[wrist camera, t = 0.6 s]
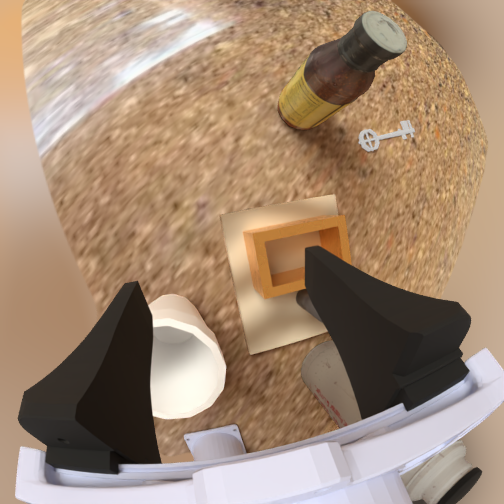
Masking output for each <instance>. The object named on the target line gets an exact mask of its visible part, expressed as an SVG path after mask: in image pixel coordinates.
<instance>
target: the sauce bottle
mask: <svg viewBox="0 0 504 504" xmlns="http://www.w3.org/2000/svg"><path fill="white" fill-rule="evenodd" d="M406 47H407V41H406V38H405V35H404V33H403V32H402V30H401V29H400V27H399V26H398V25H397V24H396V23H395V22H394V21H392V20H391V19H390V18H388V17H386V16H385V15H383V14H381V13H379V12H375V11H368V12H366V13H364V14H363V15H362V16H360V17H359V18H358V19H357V20H356V21H355V24H354V27H353V28H352V29H351V30H350V31H349V32H348V33H347V34H346V35H344V36H343V37H342V38H340V39H337V40H334V41H331V42H328V43H325V44H323V45H320V46H318V47H317V48H315V49H314V50H313V51H312V52H311V53H310V55H309V56H308V57H307V58H306V60H305V61H304V62H303V64H302V65H301V66H300V67H299V69H298V70H297V71H296V73H295V74H294V76H293V77H292V78H291V79H290V81H289V82H288V84H287V85H286V86H285V88H284V89H283V90H282V92H281V94H280V96H279V101H278V112H279V114H280V116H281V117H282V119H283V120H284V121H285V122H286V123H287V124H288V125H289V126H290V127H293V128H296V129H302V130H303V129H304V130H308V129H311V128H313V127H316V126H318V125H319V124H321V123H323V122H324V121H325V120H327V119H328V118H330V117H331V116H333V115H334V114H336V113H337V112H339V111H340V110H342V109H343V108H345V107H346V106H348V105H349V104H351V103H352V102H354V101H355V100H356V99H357V98H358V97H359V96H361V95H362V94H364V93H365V92H366V91H367V90H368V89H369V88H370V86H371V84H372V82H373V79H374V77H375V70H377V69H378V67H379V66H380V65H382V64H383V63H385V62H386V61H388V60H391V59H394V58H396V57H398V56H400V55H401V54H402V53H403V52H404V51H405V50H406Z"/></svg>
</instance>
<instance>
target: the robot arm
mask: <svg viewBox="0 0 504 504" xmlns="http://www.w3.org/2000/svg"><path fill="white" fill-rule="evenodd" d="M305 287H306V290H307V292H308V295H309V297H310V300H311V302H312V304H313V306H314V308H315V310H316V311H317V313H318V315H319V317H320V319H321V320H322V322H323V324H324V326H325V327H326V329H327V331H328V333H329V334H330V336H331V338H332V340H333V342H334V344H335V346H336V348H337V350H338V352H339V355H340V357H341V359H342V362H343V364H344V367H345V370H346V372H347V375H348V378H349V380H350V383H351V386H352V389H353V392H354V395H355V398H356V401H357V404H358V408H359V411H360V415H361V418H362V420H361V421H359V422H356V423H354V424H351V425H348V426H346V427H343V428H340V429H337V430H334V431H331V432H328V433H325V434H322V435H319V436H316V437H313V438H309V439H306V440H302V441H299V442H295V443H291V444H288V445H284V446H280V447H275V448H271V449H267V450H262V451H258V452H253V453H246V450H245V447H244V444H243V441H242V438H241V435H240V432H239V429H238V426H237V425H236V424H232V425H228V426H224V427H219V428H215V429H210V430H205V431H200V432H195V433H189V434H185V435H184V439H185V441H186V443H187V445H188V447H189V449H190V451H191V453H192V455H193V457H194V461H192V462H182V463H168V464H162V463H161V458H160V454H159V450H158V445H157V439H156V434H155V428H154V421H153V412H152V403H151V390H150V377H151V361H152V348H153V316H152V313H151V311H150V309H149V306H148V304H147V302H146V300H145V297H144V295H143V292H142V290H141V288H140V285H139V283H138V281H135V282H130V283H125V284H124V285H123V287H122V288H121V289H120V291H119V292H118V294H117V295H116V296H115V298H114V299H113V301H112V302H111V304H110V305H109V307H108V308H107V310H106V311H105V313H104V314H103V315H102V317H101V318H100V319H99V321H98V322H97V323H96V325H95V326H94V328H93V329H92V330H91V332H90V333H89V334H88V335H87V337H86V338H85V339H84V340H83V342H81V344H80V345H79V346H78V347H77V348H76V349H75V350H74V351H73V352H72V353H71V354H70V355H69V356H68V357H67V358H66V359H65V360H64V361H63V362H62V363H61V364H60V365H59V366H58V367H57V368H56V369H55V370H53V371H52V372H51V373H50V374H49V375H47V376H46V377H45V378H43V379H42V380H41V381H39V382H38V383H37V384H35V385H34V386H32V387H31V388H30V389H28V390H26V391H25V392H24V395H23V399H22V402H21V407H20V411H19V415H18V421H19V423H20V425H21V426H22V427H23V428H24V429H25V430H26V431H27V432H28V433H30V434H31V435H33V436H34V437H35V438H37V439H38V440H39V441H41V442H42V443H44V444H45V445H47V451H46V452H45V451H42V450H39V449H34V448H28V447H24V446H21V447H20V453H19V461H18V469H17V479H16V493H15V497H16V498H17V499H19V500H21V501H23V502H26V503H28V504H412V501H411V499H410V497H409V495H408V492H407V490H406V488H405V486H404V483H403V481H402V479H401V477H400V475H402V474H404V473H406V472H408V471H410V470H411V469H413V468H415V467H417V466H418V465H420V464H422V463H423V462H425V461H427V460H428V459H430V458H432V457H433V456H435V455H436V454H438V453H439V452H441V451H442V450H444V449H445V448H447V447H448V446H450V445H451V444H453V443H454V442H456V441H457V440H458V439H460V438H461V437H463V436H464V435H465V434H467V433H468V432H469V431H470V430H472V429H473V428H475V427H476V426H477V425H478V424H480V423H481V422H482V421H484V420H485V419H486V418H487V417H488V416H489V415H490V414H491V413H492V412H493V411H494V410H496V409H497V408H498V407H499V405H501V404H502V403H503V402H504V370H503V369H502V367H501V366H500V365H499V363H498V362H497V361H496V359H495V358H494V357H493V355H492V354H491V353H490V352H489V350H488V349H487V348H483V349H482V350H480V351H479V352H478V353H476V354H474V355H473V356H471V357H470V358H469V359H468V360H466V361H465V363H464V362H463V361H462V359H461V357H462V355H463V353H462V352H461V350H460V349H459V346H460V345H461V343H462V341H463V339H464V338H465V336H466V334H467V332H468V330H469V328H470V324H471V317H470V315H469V314H468V313H467V312H466V311H465V310H464V309H463V308H462V307H461V305H460V304H459V303H458V302H454V301H448V300H441V299H436V298H431V297H427V296H423V295H419V294H416V293H412V292H409V291H406V290H403V289H400V288H397V287H395V286H392V285H390V284H388V283H385V282H383V281H381V280H378V279H376V278H374V277H372V276H370V275H368V274H366V273H364V272H362V271H361V270H359V269H357V268H355V267H354V266H352V265H350V264H348V263H347V262H345V261H343V260H342V259H340V258H339V257H337V256H335V255H334V254H332V253H330V252H329V251H327V250H326V249H324V248H322V247H320V246H319V245H316V246H311V247H306V248H305ZM234 429H236V430H234Z"/></svg>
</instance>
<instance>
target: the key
mask: <svg viewBox="0 0 504 504" xmlns="http://www.w3.org/2000/svg"><path fill="white" fill-rule="evenodd" d="M407 122H408V124H409V127H410V129H409V127H408V124H407ZM407 122H406V121H401V122H400V123H401V125H402V128H403V130H400V129H398V131H396V132H392V133H388V134H384V135H380V136H377V134H376V133H375V132H374V131H372V130H371V129H368V130H364V131H361V132H360V135H359V140H360V141H359V142H358V143H359V144H361V146H362V148H363V149H365V150H366V151H374V150H376V149H378V147H379V143H380V142H379V140H381V139H385V138H390V137H395V136H400V135H402V138H403V139H407V137H406V135H405V134H408V133H410V134H411V137H414V136H413V133H412V132H415V130H414V128H412V126H411V124H410V121H409V120H407ZM367 132H369V133H370V134H372V135H373V137H374V138H372V139H369V136H368V133H367ZM364 134H366V137H367V139H368V140H364ZM373 140H375V146H374V148H373V147H372V144H371V141H373ZM365 142H369V145H370V147H371V148H370V147H368V146H367V145H366V143H365Z"/></svg>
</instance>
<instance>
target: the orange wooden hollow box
mask: <svg viewBox="0 0 504 504" xmlns="http://www.w3.org/2000/svg"><path fill="white" fill-rule="evenodd" d="M318 230H319V235H320V241H321V247H322V248H324V249H326V250H327V251H329V252H330V253H332V254H334V255H335V256H337V257H339V258H340V259H342V260H343V261H345V262H347V263H348V264H350V265H352V264H351V256H350V248H349V240H348V233H347V226H346V220H345V215H322V216H317V217H312V218H306V219H301V220H296V221H291V222H286V223H281V224H276V225H271V226H266V227H261V228H256V229H252V230H247V231H243V236H244V242H245V247H246V252H247V257H248V262H249V267H250V272H251V278H252V283H253V288H254V289H255V290H256V291H257V292H258V293H259V294H260V295H261V296H262V297H263V298H264V299H268V298H272V297H276V296H280V295H283V294H287V293H291V292H295V291H298V290H302V289H306V287H305V266H304V267H300V268H296V269H292V270H288V271H284V272H280V273H276V274H272V275H270V269H269V264H268V259H267V253H266V248H265V242H266V241H271V240H276V239H280V238H285V237H290V236H294V235H299V234H304V233H308V232H313V231H318Z"/></svg>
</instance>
